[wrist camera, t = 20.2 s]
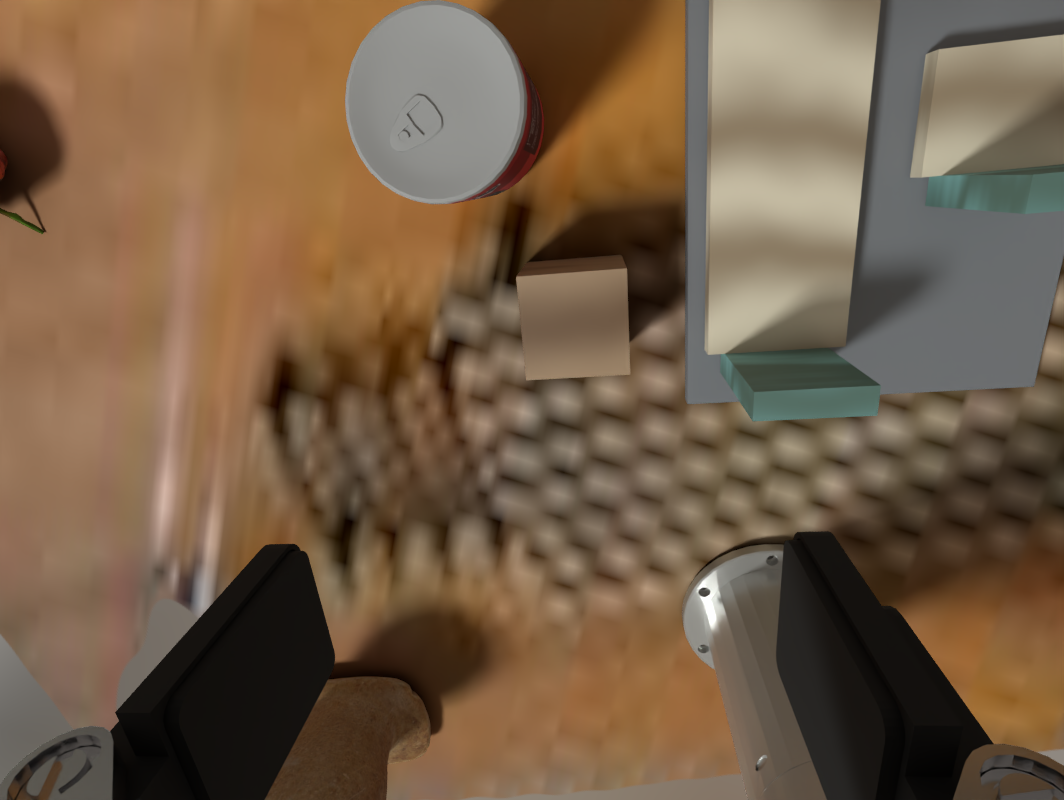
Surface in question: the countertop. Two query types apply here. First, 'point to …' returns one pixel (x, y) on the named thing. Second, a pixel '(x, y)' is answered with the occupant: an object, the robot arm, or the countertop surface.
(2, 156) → the pomegranate
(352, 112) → the canned food
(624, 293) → the cube
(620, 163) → the countertop surface
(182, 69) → the countertop surface
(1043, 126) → the broken strip
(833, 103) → the strip
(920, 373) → the mat
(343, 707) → the stone cup
